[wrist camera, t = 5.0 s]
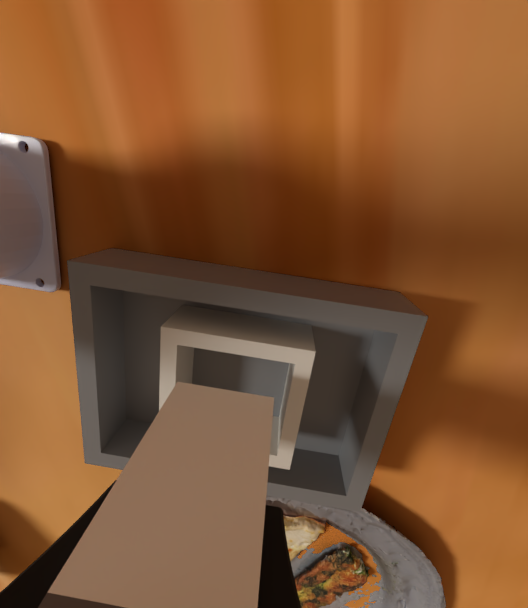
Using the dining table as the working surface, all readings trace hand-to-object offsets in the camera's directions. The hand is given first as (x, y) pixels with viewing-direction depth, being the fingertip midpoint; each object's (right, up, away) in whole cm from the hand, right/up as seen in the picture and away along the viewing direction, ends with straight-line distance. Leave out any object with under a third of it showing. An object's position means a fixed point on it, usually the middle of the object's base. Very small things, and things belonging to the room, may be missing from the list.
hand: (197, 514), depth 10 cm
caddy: (+1, +3, +9) cm, 9 cm away
